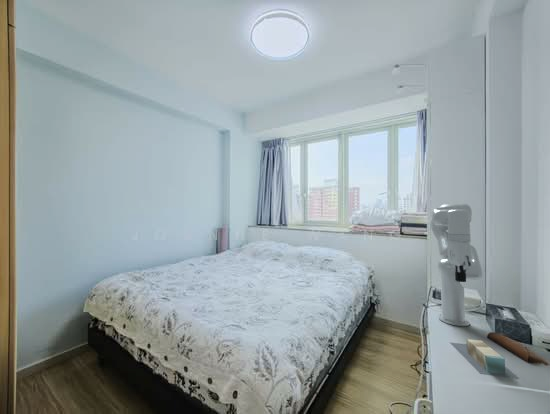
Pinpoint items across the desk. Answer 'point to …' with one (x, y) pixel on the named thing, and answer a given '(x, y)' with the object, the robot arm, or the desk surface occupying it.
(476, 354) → the wooden block
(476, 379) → the desk surface
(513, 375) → the charcoal mat
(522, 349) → the sunglasses case
